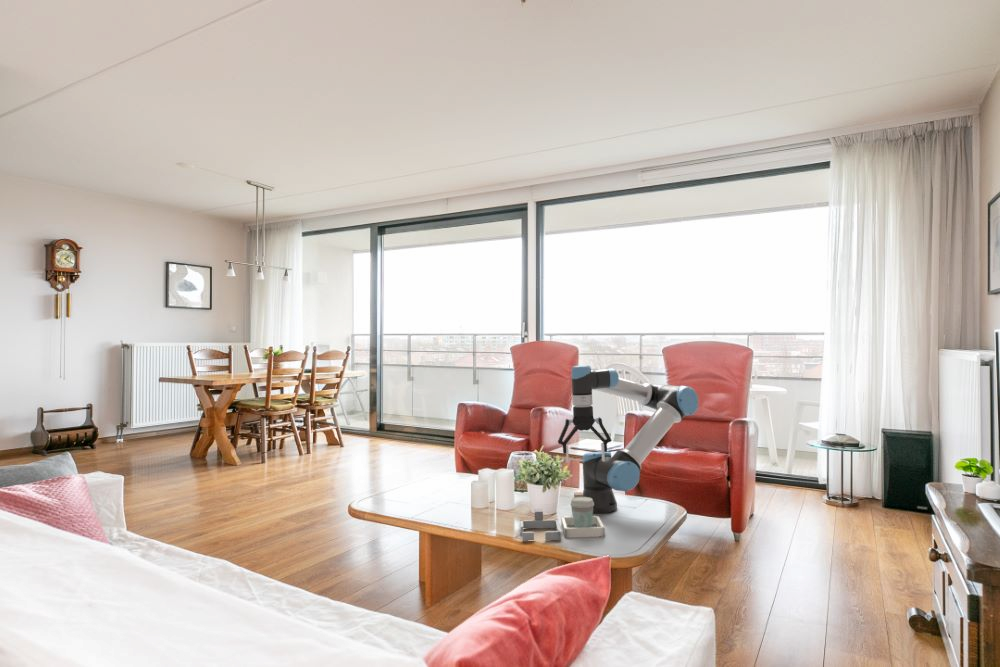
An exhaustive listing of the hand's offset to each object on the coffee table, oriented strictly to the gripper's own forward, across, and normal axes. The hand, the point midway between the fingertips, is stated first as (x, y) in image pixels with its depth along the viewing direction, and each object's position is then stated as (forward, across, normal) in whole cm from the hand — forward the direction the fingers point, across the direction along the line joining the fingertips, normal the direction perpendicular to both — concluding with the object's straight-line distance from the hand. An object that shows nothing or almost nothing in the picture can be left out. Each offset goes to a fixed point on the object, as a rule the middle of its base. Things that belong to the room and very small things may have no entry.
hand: (585, 461), depth 228 cm
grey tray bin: (+23, -3, -8) cm, 25 cm away
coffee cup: (+23, -3, -13) cm, 27 cm away
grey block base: (+23, -19, -12) cm, 32 cm away
